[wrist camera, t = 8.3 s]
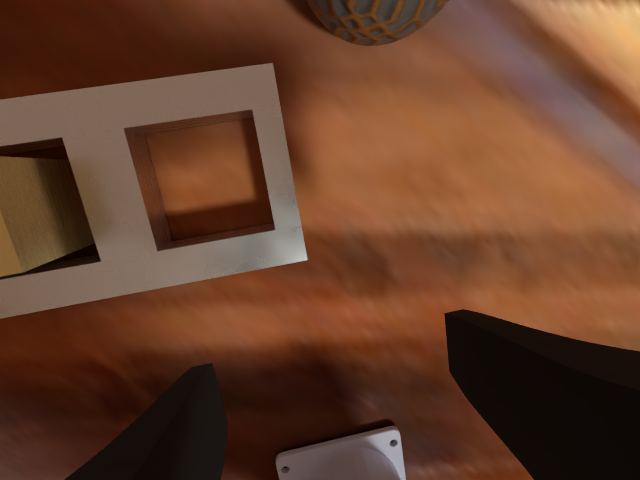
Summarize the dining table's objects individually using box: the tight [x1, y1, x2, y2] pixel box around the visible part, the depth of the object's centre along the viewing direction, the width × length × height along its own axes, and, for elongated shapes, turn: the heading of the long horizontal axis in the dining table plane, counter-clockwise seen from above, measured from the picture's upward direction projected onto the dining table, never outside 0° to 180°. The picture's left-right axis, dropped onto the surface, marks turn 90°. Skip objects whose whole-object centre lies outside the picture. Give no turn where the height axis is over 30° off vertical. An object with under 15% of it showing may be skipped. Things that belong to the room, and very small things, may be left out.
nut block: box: [0, 156, 95, 277], centre depth 14 cm, size 4×4×6 cm
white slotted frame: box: [0, 63, 307, 319], centre depth 16 cm, size 9×24×2 cm, turn 99°
